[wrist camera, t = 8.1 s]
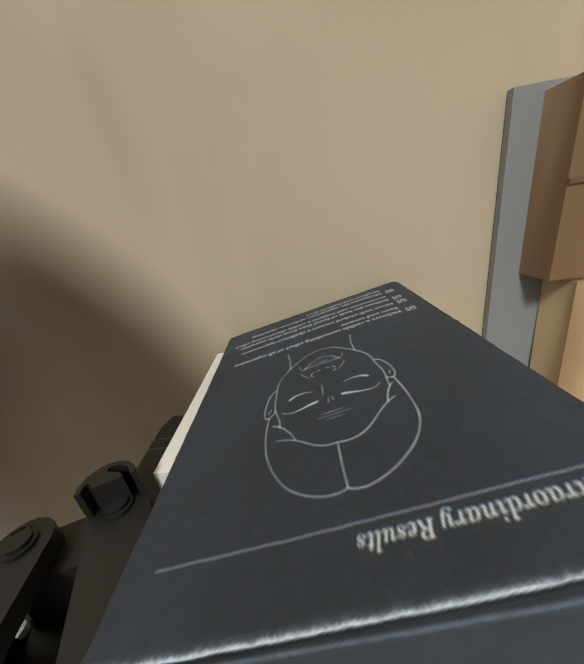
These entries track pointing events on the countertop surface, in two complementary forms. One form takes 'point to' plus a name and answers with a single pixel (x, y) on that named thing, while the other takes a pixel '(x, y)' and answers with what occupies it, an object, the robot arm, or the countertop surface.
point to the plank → (561, 335)
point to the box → (363, 504)
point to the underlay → (515, 228)
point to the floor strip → (557, 188)
